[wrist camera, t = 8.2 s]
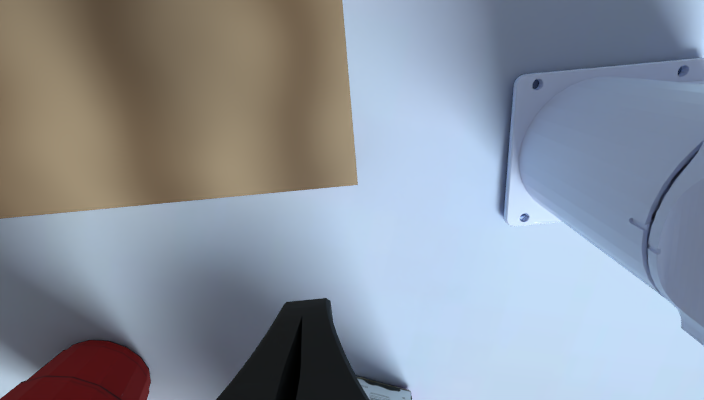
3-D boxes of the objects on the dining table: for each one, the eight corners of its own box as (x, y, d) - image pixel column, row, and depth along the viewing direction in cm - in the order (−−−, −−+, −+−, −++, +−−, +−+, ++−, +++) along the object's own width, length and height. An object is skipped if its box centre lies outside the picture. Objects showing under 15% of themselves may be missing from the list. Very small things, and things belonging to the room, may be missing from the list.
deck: (335, -57, 16) (335, -77, 13) (355, 168, 19) (357, 184, 17) (-236, -6, 15) (-337, -16, 13) (-105, 212, 19) (-166, 234, 17)
